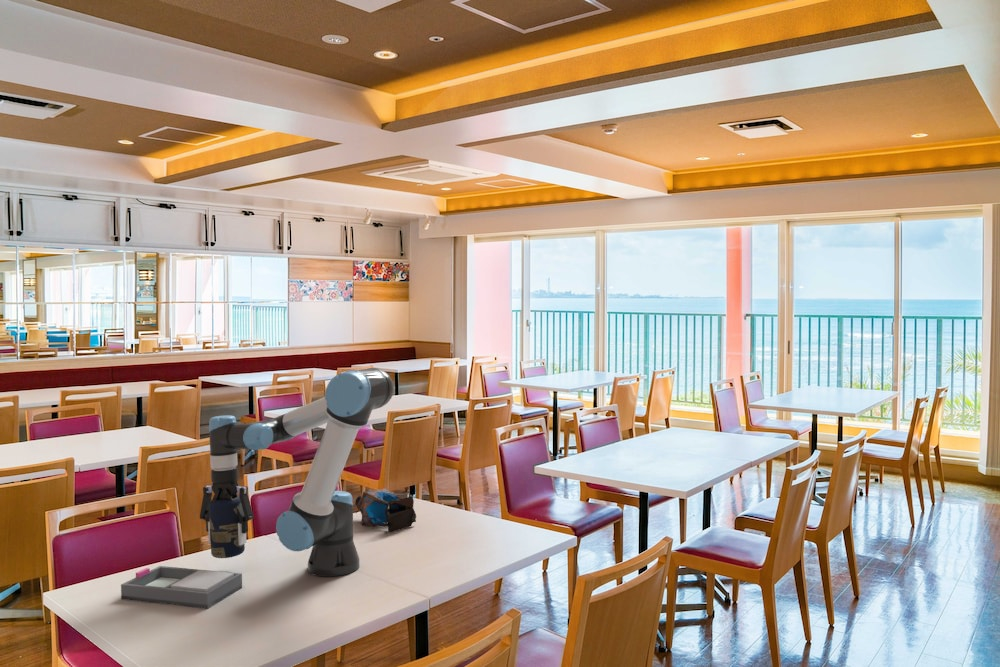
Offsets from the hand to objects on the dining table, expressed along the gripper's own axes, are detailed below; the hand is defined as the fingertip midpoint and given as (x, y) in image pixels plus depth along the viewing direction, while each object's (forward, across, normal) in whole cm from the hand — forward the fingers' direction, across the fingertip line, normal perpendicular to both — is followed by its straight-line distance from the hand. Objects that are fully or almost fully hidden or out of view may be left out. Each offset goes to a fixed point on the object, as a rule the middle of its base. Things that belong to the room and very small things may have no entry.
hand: (227, 543), depth 219 cm
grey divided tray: (+8, +2, +18) cm, 20 cm away
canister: (+4, 0, 0) cm, 4 cm away
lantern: (+9, -24, -56) cm, 62 cm away
